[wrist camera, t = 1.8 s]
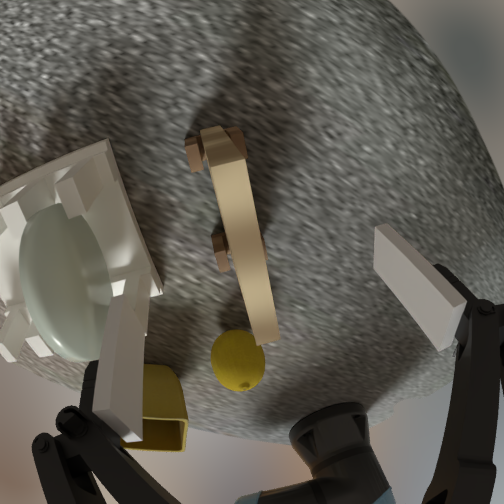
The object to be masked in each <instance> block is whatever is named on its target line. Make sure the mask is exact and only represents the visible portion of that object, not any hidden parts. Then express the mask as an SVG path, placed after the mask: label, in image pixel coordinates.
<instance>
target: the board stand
mask: <svg viewBox="0 0 504 504" xmlns="http://www.w3.org/2000/svg"><path fill="white" fill-rule="evenodd" d="M223 130H224V131H225V133H226V134H227V135H228V137H229V138H230V139H231V141H232V142H233V143H234V145H235V146H236V147H237V149H238V150H239V151H240V153H241V154H242V156H243V157H244V158H245V159H248V155H247V150H246V145H245V140H244V135H243V132H242V131H241V130H240V129H239V128H238V127H237V126H235V127H231V128H226V129H223ZM185 150H186V153H187V157H188V161H189V165H190V168H191V172H192V173H193V172H196V171H200V170H204V168H203V164H202V161H204V160H207V158H206V154H205V150H204V146H203V142H202V138H201V135H198V136H194V137H190V138H187V139H185ZM259 231H260V230H259ZM260 236H261V241H262V246H263V251H264V256H265V260H268V257H267V251H266V246H265V241H264V238H263V236H262V234H261V232H260ZM211 238H212V243H213V248H214V253H215V257H216V260H217V264H218V267H219V270H220V273H221V272H224V271H228V270H230V266H229V262H228V258H227V254H231V252H230V248H229V245H228V241H227V237H226V233H225V232H222V233H218V234H215V235H211Z"/></svg>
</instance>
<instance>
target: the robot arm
mask: <svg viewBox="0 0 504 504" xmlns="http://www.w3.org/2000/svg"><path fill="white" fill-rule="evenodd" d="M373 269H374V270H375V271H376V272H377V274H378V275H379V276H380V277H381V278H382V280H383V281H384V282H385V283H386V285H387V286H388V287H389V288H390V289H391V291H392V292H393V293H394V294H395V296H396V297H397V298H398V299H399V301H400V302H401V303H402V304H403V306H404V307H405V308H406V310H407V311H408V312H409V313H410V315H411V316H412V317H413V319H414V320H415V321H416V322H417V324H418V325H419V326H420V328H421V329H422V330H423V332H424V333H425V334H426V336H427V337H428V338H429V340H430V341H431V342H432V344H433V345H434V346H435V348H436V349H437V350H438V352H439V351H441V350H443V349H445V348H447V347H449V346H451V344H452V342H453V339H454V337H455V338H456V339H457V340H458V341H459V342H458V344H457V347H456V349H455V351H454V354H453V357H455V355H456V362H455V371H454V379H453V387H452V393H451V400H450V406H449V412H448V417H447V422H446V427H445V432H444V437H443V441H442V446H441V450H440V454H439V458H438V461H437V465H436V469H435V473H434V476H433V479H432V481H431V484H430V485H429V487H428V489H427V491H426V493H425V495H424V498H423V501H422V504H490V501H491V496H492V492H493V488H494V483H495V478H496V466H495V465H494V464H493V461H492V459H493V452H494V445H495V438H496V429H497V420H498V408H499V392H500V379H501V384H502V389H503V395H504V304H499V305H494V304H493V303H492V302H490V301H489V300H485V299H479V300H478V299H477V298H476V297H475V296H474V295H473V293H472V292H471V291H470V290H469V289H468V288H467V287H466V286H465V285H464V284H463V283H462V282H461V281H459V279H458V278H457V277H456V276H454V274H453V273H452V272H451V271H450V270H448V269H447V268H446V267H444V266H442V265H440V264H435V265H433V266H432V265H431V264H430V263H429V262H428V261H427V260H426V259H425V258H424V257H423V256H422V255H421V254H420V253H419V252H418V251H417V250H416V249H415V248H414V247H412V246H411V245H410V244H409V243H408V242H407V241H406V240H405V239H404V238H403V237H402V236H401V235H399V234H398V233H397V232H396V231H395V230H394V229H393V228H392V227H391V226H389V225H388V224H387V223H386V224H383V225H379V226H375V242H374V265H373ZM144 343H145V330H144V328H143V327H142V325H141V323H140V321H139V320H138V318H137V316H136V314H135V312H134V311H133V309H132V307H131V305H130V303H129V301H128V299H127V298H126V296H125V294H122V295H118V296H114V297H111V301H110V305H109V310H108V315H107V319H106V324H105V330H104V335H103V340H102V346H101V351H100V357H99V360H96V361H90V363H89V365H88V366H87V368H86V370H85V374H84V379H83V381H84V382H83V385H82V389H83V390H82V391H81V398H80V405H79V408H78V407H76V406H72V405H71V406H67V407H65V408H63V409H62V410H61V411H60V412H59V413H58V415H57V418H56V427H57V430H58V431H60V432H61V433H62V434H60V435H58V436H55V437H52V436H51V435H50V434H48V433H41V434H39V435H38V436H36V437H35V439H34V441H33V443H32V453H33V457H34V461H35V465H36V468H37V472H38V475H39V478H40V482H41V485H42V488H43V491H44V494H45V497H46V500H47V503H48V504H106V501H105V499H104V498H103V495H102V493H101V491H100V489H99V487H98V485H97V483H96V480H95V478H94V476H93V474H92V471H93V473H94V474H95V475H96V477H97V478H98V479H99V480H100V482H101V483H102V484H103V485H104V486H105V488H106V489H107V490H108V491H109V493H110V494H111V495H112V496H113V497H114V499H115V500H116V501H117V502H118V503H119V504H181V503H180V502H179V501H178V500H177V499H176V498H174V497H173V496H172V495H171V494H170V493H168V491H167V490H165V489H164V488H163V487H162V486H161V485H160V484H159V483H158V482H157V481H156V480H155V479H154V478H153V477H152V476H150V474H149V473H148V472H147V471H145V470H144V469H143V468H142V467H141V466H140V465H139V463H138V462H137V461H136V460H135V459H134V458H133V457H132V456H131V455H130V454H129V453H128V452H127V451H126V450H125V449H124V448H123V447H122V446H121V445H120V437H121V438H122V439H123V440H125V441H126V442H136V441H143V429H142V402H143V364H144ZM289 438H290V442H291V445H292V447H293V449H294V450H295V451H296V452H297V454H298V455H299V456H300V457H301V459H302V460H303V461H304V462H305V464H306V465H307V466H308V467H309V469H310V471H311V474H312V477H313V479H312V480H309V481H305V482H301V483H298V484H294V485H290V486H285V487H281V488H277V489H272V490H267V491H259V492H258V493H253V494H249V495H244V496H241V497H239V498H238V499H237V500H236V501H235V504H396V502H395V499H394V496H393V493H392V491H391V489H392V488H391V486H390V485H389V483H388V481H387V479H386V477H385V475H384V473H383V470H382V468H381V466H380V464H379V462H378V460H377V458H376V455H375V454H374V451H373V449H372V447H371V445H370V437H369V425H368V417H367V414H366V412H365V410H364V408H363V406H362V405H360V404H358V403H343V404H338V405H334V406H331V407H328V408H325V409H322V410H320V411H318V412H315V413H313V414H311V415H310V416H308V417H306V418H304V419H303V420H301V421H300V422H299V423H297V424H296V425H295V426H294V427H293V428H292V430H291V431H290V433H289Z"/></svg>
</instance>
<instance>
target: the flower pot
mask: <svg viewBox="0 0 504 504" xmlns="http://www.w3.org/2000/svg"><path fill="white" fill-rule="evenodd" d="M142 429H143V441H136V442H126V441H125V440H123V439H122V438H121V437H120V445H121V446H122V447H123V448H124V449H130V450H142V451H159V452H184V451H185V447H186V437H187V430H188V415H187V410H186V405H185V400H184V395H183V390H182V387H181V384H180V381H179V379H178V377H177V376H176V374H175V373H174V372H173V371H172V369H171V368H169V367H168V366H166V365H154V364H143V402H142Z"/></svg>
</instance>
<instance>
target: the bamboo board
mask: <svg viewBox="0 0 504 504" xmlns="http://www.w3.org/2000/svg"><path fill="white" fill-rule="evenodd" d="M200 134H201V138H202V142H203V146H204V150H205V154H206V158H207V162H208V166H209V170H210V174H211V178H212V182H213V186H214V190H215V194H216V198H217V202H218V206H219V210H220V214H221V218H222V221H223V225H224V229H225V233H226V237H227V241H228V245H229V248H230V252H231V256H232V260H233V263H234V267H235V270H236V274H237V278H238V281H239V285H240V288H241V292H242V295H243V299H244V302H245V306H246V310H247V313H248V317H249V320H250V323H251V327H252V330H253V334H254V337H255V341H256V344H257V346H258V345H262V344H266V343H269V342H273V341H276V340H280V334H279V328H278V323H277V318H276V313H275V307H274V302H273V297H272V292H271V287H270V282H269V276H268V271H267V266H266V261H265V256H264V251H263V246H262V241H261V236H260V231H259V226H258V221H257V216H256V211H255V206H254V201H253V196H252V191H251V186H250V181H249V176H248V171H247V166H246V161H245V158H244V157H243V156H242V154H241V153H240V151H239V150H238V149H237V147H236V146H235V145H234V143H233V142H232V141H231V139H230V138H229V137H228V135H227V134H226V133H225V131H224V130H223V129H222V127H221V126H220V125H218V126H214V127H210V128H206V129H202V130H200Z"/></svg>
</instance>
